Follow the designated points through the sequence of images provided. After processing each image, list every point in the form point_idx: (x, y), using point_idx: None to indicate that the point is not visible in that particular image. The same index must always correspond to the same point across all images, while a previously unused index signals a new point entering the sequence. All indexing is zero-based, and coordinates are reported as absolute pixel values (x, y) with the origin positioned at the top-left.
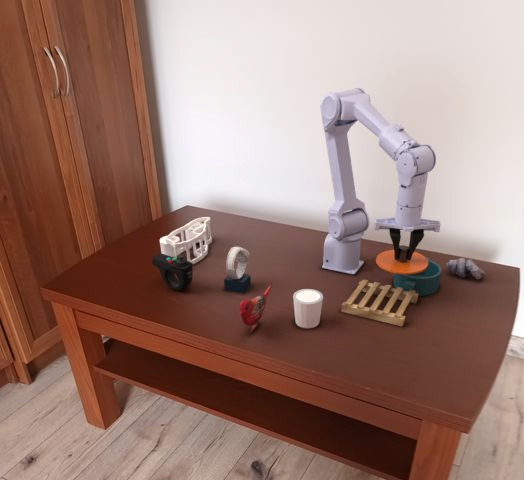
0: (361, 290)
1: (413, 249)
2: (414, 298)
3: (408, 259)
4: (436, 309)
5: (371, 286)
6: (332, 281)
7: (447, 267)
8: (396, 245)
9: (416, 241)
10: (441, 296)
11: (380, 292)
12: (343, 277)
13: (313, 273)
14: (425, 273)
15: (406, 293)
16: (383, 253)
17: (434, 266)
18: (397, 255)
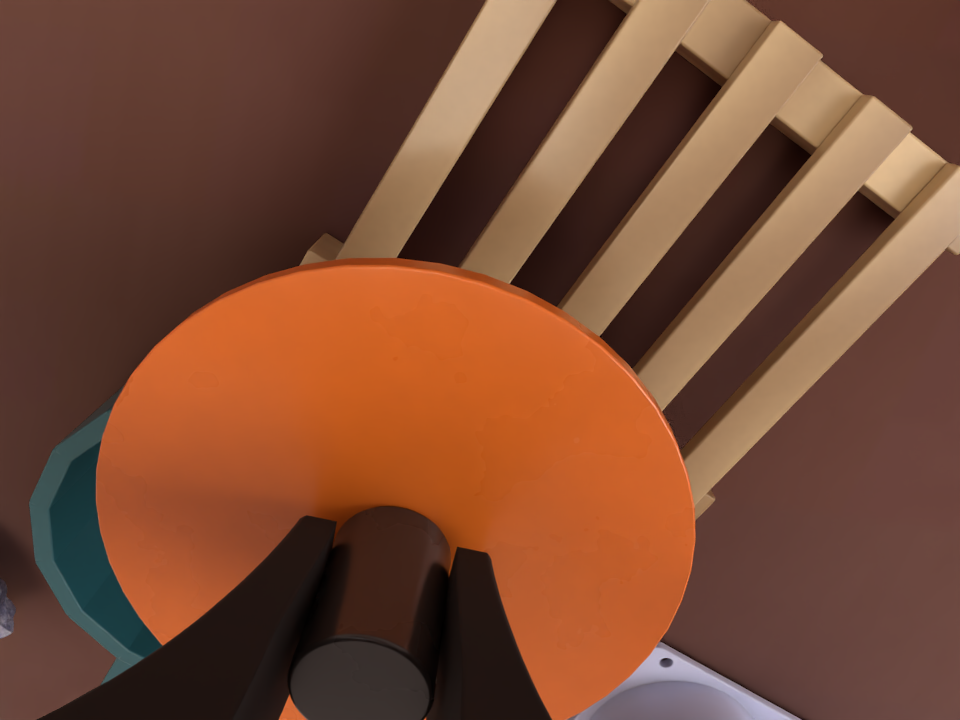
0: (747, 387)
1: (236, 609)
2: (329, 251)
3: (327, 524)
4: (178, 121)
5: None
6: (825, 591)
7: (10, 606)
8: (505, 711)
9: (140, 718)
10: (110, 303)
11: None
12: (730, 623)
13: (904, 690)
14: None
15: None
16: (548, 706)
17: (86, 581)
18: (468, 583)
